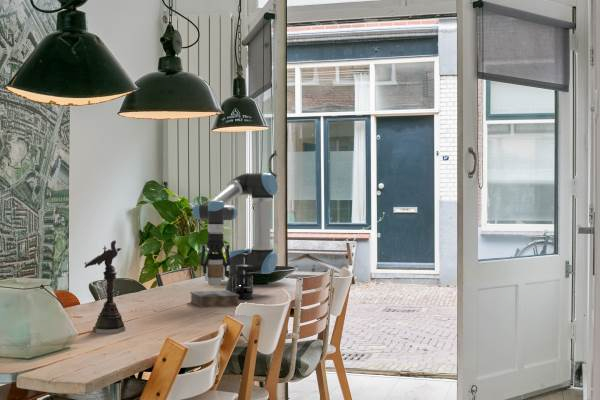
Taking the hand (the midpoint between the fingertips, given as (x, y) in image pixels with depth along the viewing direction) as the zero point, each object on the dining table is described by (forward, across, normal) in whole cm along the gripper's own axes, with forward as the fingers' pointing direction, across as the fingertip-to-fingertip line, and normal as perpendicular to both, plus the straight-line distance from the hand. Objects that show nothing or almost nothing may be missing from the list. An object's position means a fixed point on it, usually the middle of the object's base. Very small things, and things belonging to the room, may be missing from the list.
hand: (214, 280), depth 349 cm
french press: (+11, +19, +13) cm, 26 cm away
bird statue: (+12, -61, -54) cm, 82 cm away
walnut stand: (+11, 0, 0) cm, 11 cm away
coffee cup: (+2, 0, 0) cm, 2 cm away
